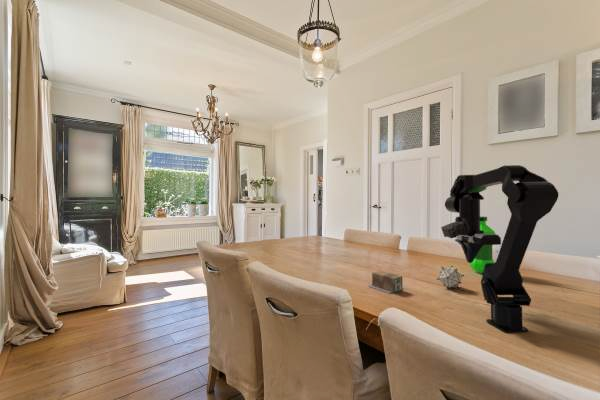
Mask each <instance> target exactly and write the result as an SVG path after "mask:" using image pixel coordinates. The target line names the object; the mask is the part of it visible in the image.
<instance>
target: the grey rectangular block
mask: <svg viewBox="0 0 600 400" xmlns="http://www.w3.org/2000/svg"><path fill="white" fill-rule="evenodd" d="M371 285H372V286H375V287H378V288H381V289H384V290H387V291H390V292H394V293H398V292H401V291H403V290H404V288H403V276H402V275H399V274H395V273H391V272H387V271H383V270H378V271H374V272H372V273H371Z"/></svg>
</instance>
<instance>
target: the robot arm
mask: <svg viewBox="0 0 600 400" xmlns="http://www.w3.org/2000/svg"><path fill="white" fill-rule="evenodd" d="M497 185H501V192H502V193H503V194H504V195H505V196H506V197H507V200H506V204H507V207H508V210H509V212H510V219H509V221H508V225H507V227H506V231H505V234H504V237H503V239H502V238H501V236H500V235H499V234H496V233H495V234H490V233H484V231H483V230H480V221H484V218H483V217H484V216H481V200H485V198H484V196H483V195H481V194H480V193H481V192H483V191H485V190H487V188H488V187H492V186H497ZM449 191H450V193H449V197H447V199H445V202H444V206H445V209H446V210H447V211H448V212H451V213H457V214H459V216H456V217H455V220H454V221H453V222H450V223H449V224H445V225H444V226H441V231H442V233H443V237H444V238H449V239H454V241H455V242H457V243H458V244H459V245H460V246H461V248H462V251H463V254H464V255H465V259H466V262H467V263H469V264H470V263H472V262H473V260H474V259H475V257H476V255H477V254H478V252H479V250H480V249H481V248H482V246H483V245H492V246H493V245H494V246H496V245H501V246H500V249H499V251H498V254H497V258H496V261H494V263H486V264H485V266H484V271H483V273H482V274H481V273H480V275H481V280H480V285H481V290H482V294H483V298H484V301H486V303H487V304H489V305H490V319H489V318H488V319H486V322H487V323H488V324H490V325H491V326H493V327H495V328H497V329H498V330H500V331H502V332H504V333H519V332H520V333H521V332H529V328H528V327H526V326H524V325H523V306H525V307H530V305H531V302H532V299H531V297H530V295H529V293H528V292H527V290H526V289H525V286H524V284H523V283H524V282H523V281H524V278H523V276H522V274H521V272H520V268H521V266H522V262H523V260H524V258H525V254H526V251H527V250H528V246H529V244H530V242H531V239H532V236H533V235H534V231H535V229H536V227H537V223H538V221H540V220H541V219H542V218H544V217H545V216H546V215H548V214H549V213H551V211H552V209H553V208H554V206H555V204H556V203H557V201H558V199H559V191H558V189H557V188H556V187H555V185H554V184H553V183H551V182H549V181H548V180H547V179H546V178H544V177H543V176H540V175H538V174H536V173H534V172H532V171H529V169H527V168H526V167H525V166H524V165H523V166H522V165H516V164H515V165H512V164H511V165H510V164H509V165H503V166H500V167H498V168H495V169H492V170H487V171H484V172H481V173H477V174H460V175H457V177H456V178H455V180H454V182H453V185H452V186H451V188H450V190H449Z"/></svg>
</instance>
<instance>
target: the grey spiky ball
mask: <svg viewBox="0 0 600 400" xmlns="http://www.w3.org/2000/svg"><path fill="white" fill-rule="evenodd" d="M463 277H465V274H461V273H460V272H459V271H458V268H454V267H453V265H451V266H450V267H443V266H441V270H440V272H439V277H438V278H436V280H437V281H440V282H441V283H442V284H443V286H446V287H447V290H450V288H457V289H460V287H459V285H460V284H461V285H462V281H461V280H462V278H463Z"/></svg>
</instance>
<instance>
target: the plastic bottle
mask: <svg viewBox="0 0 600 400" xmlns="http://www.w3.org/2000/svg"><path fill="white" fill-rule="evenodd" d="M482 217H483V218H484V221H480V230H483V231H484V233H490V234H496V232H495V231H494V229H492V228H491V227H490V226H488V224H487V221H488V216H482ZM486 263H495V260H494V259H493V245H483V246H482V248H481V249H480V250H479V252H478V254H477V255H476V257H475V259H474V260H473V262H472V263H469V266H470V268H471V269H472V270H473V271H474V272H475V273H477V274H480V275H481V274H482V273H483V271H484V266H485V264H486Z"/></svg>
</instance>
